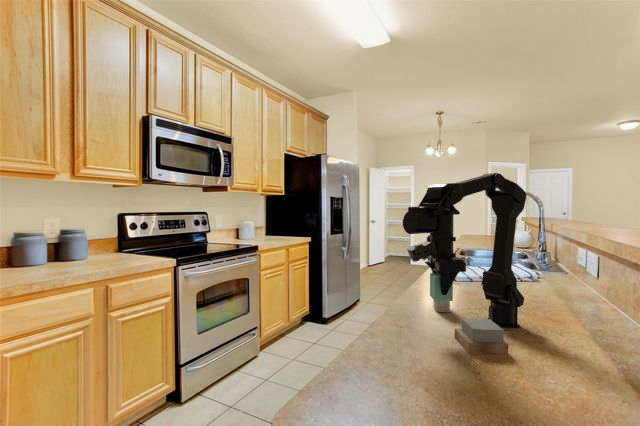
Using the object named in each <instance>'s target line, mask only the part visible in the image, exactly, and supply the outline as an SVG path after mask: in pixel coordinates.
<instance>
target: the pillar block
mask: <svg viewBox="0 0 640 426" xmlns="http://www.w3.org/2000/svg"><path fill="white" fill-rule="evenodd" d="M453 285H454V282H453V283H452V285H451V287H450V289H449V291H448V293H447V295H442V293H441V288H440V281H439V275H438V273H432V272H431V273H429V296H430V298H431V299H432V300H433V302H434V301H450V302H453V301H454V298H453V297H454V296H453V295H454V286H453Z"/></svg>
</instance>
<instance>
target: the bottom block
mask: <svg viewBox="0 0 640 426" xmlns="http://www.w3.org/2000/svg"><path fill="white" fill-rule="evenodd" d="M454 339H455V340H456V342H458V343H459V345H460V347H462V348H463V349H464V350H465V352H466V353H467V354H469V355H470V354H471V355H472V354H473V355H504V356H505V355H506V356H507V355H509V344H508V342H507V341H505V340H504V339H503V343H494V342H472V341H471V340H470V339H469V338H468V337H467V335H466V334H465V333H464V332H463V331H462V328H454Z"/></svg>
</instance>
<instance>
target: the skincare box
mask: <svg viewBox="0 0 640 426" xmlns="http://www.w3.org/2000/svg"><path fill="white" fill-rule="evenodd" d="M450 302H451V301H434V300H433V308H434V310H435V312H437V313H450V311H451V305H450V304H451V303H450Z"/></svg>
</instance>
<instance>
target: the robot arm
mask: <svg viewBox="0 0 640 426" xmlns="http://www.w3.org/2000/svg"><path fill="white" fill-rule="evenodd" d="M480 192H484V193H485V196H486V197H487V198H488V199H490V200H491V209H492V210H493V213H494V214H495V217H496V218H495V219H496V221H495V231H494V239H493V248H492V249H493V250H492V258H491V259H492V260H491V266H490V268H488V269H487V271H486V270H484V271H483V272H482V281H481V284H480V285H482V291H483V292H484V293H483V294H484V297H485V300H487V301H490V305H488V317H487V319H490V320H492V321H493V322H494V323H495V324H497V325H498V326H499V327H500V328H521V327H522V326H521V325H520V324H519V323H518V316H519V315H518V314H519V313H518V311H519V310H518V308H521V307H522V306H523V305H524V302H525V297H524V296H523V294H522V293H521V292H520V290H519V289H518V285H517V284H518V281H517V277H516V275H515V273H514V271H513V269H512V267H513V266H512V264H513V256H514V255H513V254H514V245H515V234H516V226H517V225H516V224H517V218H518V217H519V216H520V214H521V213H522V212H523V211H524V210H525V205H526V200H527V193H526V191H525V190H524V188H522V187H521V186H520V185H519V184H518V183H516V182H515V181H512V180H509V179H507V178H506V177H505V176H504V175H502V174H501V173H498V172H493V173H491V172H490V173H484V174H482V175H479V176H476V177H473V178H468V179H464V180H461V181H458V182H451V183H448V182H447V183H437V184H430V185H429V186H428V187H427V190H426V193H425V194H424V195H423V198H422V200H421V201H420V203H418V206H408V207H407V212H406V213H405V214H404V216H403V219H402V227H403V231H405V233H407V234H408V235H421V234H429V235H427V236H426V241H423V242H420V243H417V244H413V245H412V246H409V247H407V248H406V250H407V253H408V255H409V258H410V260H412V262H413V263H414V262H418V261H420V260H423V261H424V264H426V266H428V267H429V268H430V270H431V273H438V275H439V281H440V288H441V293H442V295H447V293H448V291H449V289H450V287H451V285H452V283H453V284H454V282H455V279H456V278H457V276H458V275H459V273H465V272H467V263H466V262H465V261H464V260H463V259H462V258H459V257H457V256H456V255H457V254H456V253H455V252H454V242H457V237H456V236H454V215H460V214H461V211H459V210H458V209H457V208H456V207H455V205H456V204H458V203H460V202H462V200H463V199H464V198H465V197H468V196H471V195H474V194H477V193H480ZM426 260H427V261H426Z"/></svg>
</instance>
